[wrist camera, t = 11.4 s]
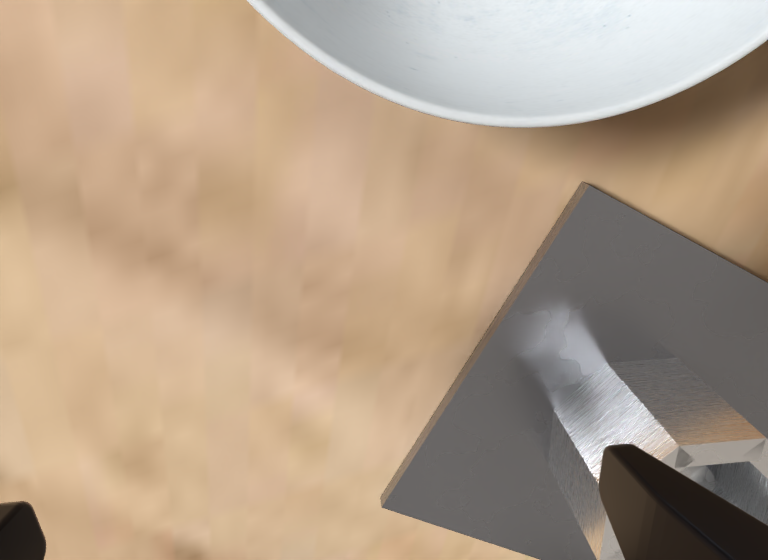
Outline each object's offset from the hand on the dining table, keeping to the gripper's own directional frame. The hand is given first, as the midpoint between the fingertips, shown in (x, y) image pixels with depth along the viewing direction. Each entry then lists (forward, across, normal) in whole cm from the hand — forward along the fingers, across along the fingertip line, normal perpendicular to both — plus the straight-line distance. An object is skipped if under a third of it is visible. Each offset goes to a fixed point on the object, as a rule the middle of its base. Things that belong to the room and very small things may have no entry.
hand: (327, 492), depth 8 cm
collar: (+11, -12, +9) cm, 19 cm away
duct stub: (+12, -12, +9) cm, 19 cm away
